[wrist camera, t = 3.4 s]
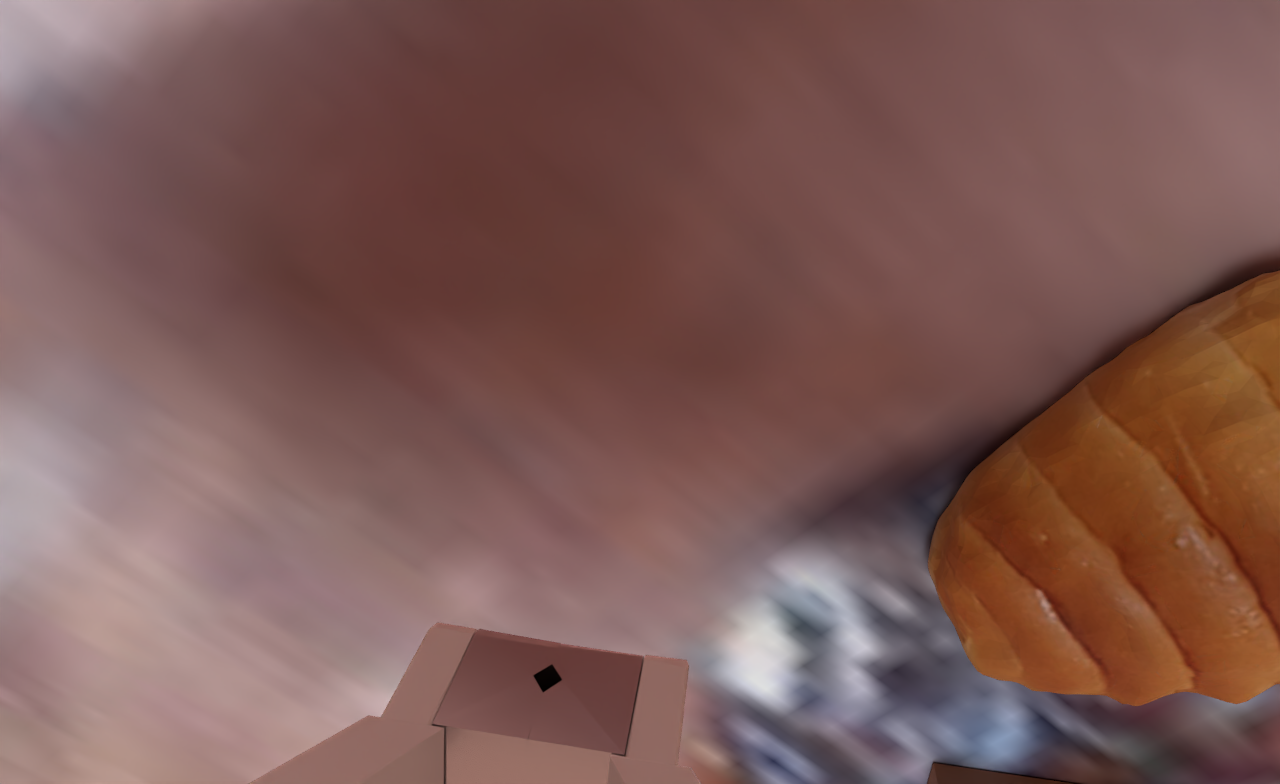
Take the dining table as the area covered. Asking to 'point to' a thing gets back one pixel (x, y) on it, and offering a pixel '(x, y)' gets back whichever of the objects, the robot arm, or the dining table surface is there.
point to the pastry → (1134, 521)
